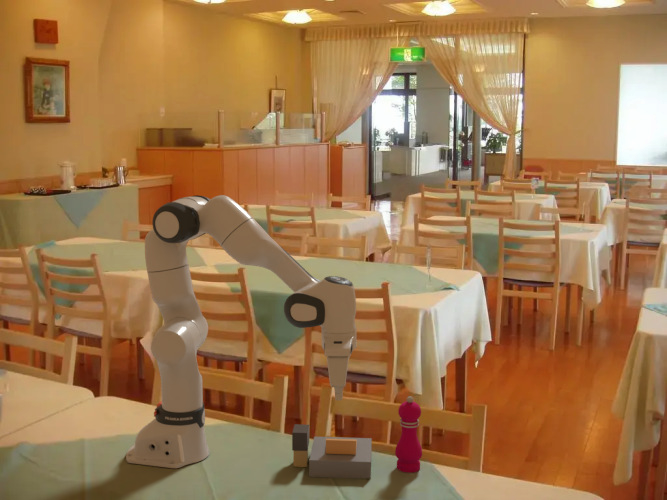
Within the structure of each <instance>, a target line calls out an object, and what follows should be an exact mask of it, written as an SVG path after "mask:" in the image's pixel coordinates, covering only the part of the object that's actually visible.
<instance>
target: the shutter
mask: <svg viewBox="0 0 667 500" xmlns="http://www.w3.org/2000/svg"><path fill="white" fill-rule="evenodd" d="M356 448H357V440H356V439H326V454H352V455H356Z"/></svg>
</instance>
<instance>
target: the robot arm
mask: <svg viewBox="0 0 667 500" xmlns="http://www.w3.org/2000/svg"><path fill="white" fill-rule="evenodd" d="M151 223H152V224H151V225H152V228H153V229H151V230H149V231H148V233H146V235H145V237H144V257H145V266H146V271H147V278H148V282H149V283H148V284H149V288H150V292H151V293H150V294H151V298H152V301H153V302H154V303H155V304H156V306H157V307H158V309H159V312H160V314H161V317H162V319H163V325H162V326H160V327H159V328H158V329H157V331H155V333H154V336H153V338H152V340H151V343H150V350H151V354H152V356H153V358H154V359H155V360H156V363H157V367H158V372H159V375H160V382H161V383H160V385H161V387H160V388H161V401H158V403H157V405H156V407H155V408H154V411H153V417H154V419H153V420H152V421H150V422H149V423H147V424H146V425H144V426H143V427H142V428H141V429H140V430H139V431H138V433H137V434H136V437H135V441H134V444H132V445H131V446H130V448H129V449H127V452H126V456H125V460H126V462H127V463H129V464H137V465H143V466H151V467H152V466H153V467H162V468H169V469H179V468H182V467H184V466H186V465H191V464H195V463H198V462H201V461H203V460H205V459H207V458H208V456H209V455H210V453H211V452H210V448H209V446H208V443H207V437H206V430H205V423H206V409H205V403H204V401H203V397H204V396H203V395H204V393H203V375H202V374H201V373H200V371H199V365H198V361H197V353H198V349H199V348H201V346H202V345H203V344H204V343H205V341H206V339H207V337H208V335H209V334H208V333H209V324H208V321H207V319H206V317H204V315H203V313H202V310H201V308H200V305H199V303H198V300H197V297H196V294H195V291H194V286H193V281H192V276H191V275H192V274H191V269H190V265H189V260H188V256H187V245H188V243H189V242H190V241H192V240H195V239H197V238H199V237H201V236H203V235H209V236H211V237H212V238H213V239H214V241H216V243H217V244H218V245H219V246H220V247H221V249H223V250H224V251H225V253H226V254H227V255H228V256H230V257H231V258H232V259H233V260H234V261H236V262H237V263H238V264H241V265H243V266H244V265H245V266H252V267H254V266H255V267H259V268H264V269H265V270H266V269H267V270H269V271H270V272H272V273H273V274H275V275H276V276H277V277H278V278H279V279H280V280H281V281H282V282H283V283H284V284H285V285H286V286H287V287H288V288H290V290H291V291H292V292H293V293H291V294H290V295H289V296H288V297H287V298H286V300H285V301H284V304H283V313H284V316H285V318H286V320H287V322H288V323H289V324H291V326H293V327H295V328H300V329H304V328H305V329H306V328H313V327H321V349H323V352H324V356H325V357H326V361H327V371H328V381H329V385H330V387H331V388H333V389H334V400H335V401H342V400H343V398H344V397H343V389H345V387H346V384H347V382H346V381H347V375H348V366H349V359H350V357H351V355H352V353H353V351H354V350H356V349H357V344H358V342H357V325H356V321H355V319H356V315H357V299H356V298H357V297H356V290H355V287H354V284H353V282H352V281H350V280H349V279H348V278H345V277H341V276H336V275H335V276H334V275H331V276H330V275H329V276H325V277H324V278H323V279H318V278H316V277H315V276H314V275H312V274H310V272H308V270H306V269H305V268H304V267H303V266H302V265H301V264H300V263H299V262H298V261H297V260H296V259H295V257H294V258H293V256H292V255H291V254H289V252H287V251H286V250H285V249H284V248H283V247H281V245H280V244H278V242H276V240H274V239H273V238H272V237H271V236H270V235H269V233H268V232H267V231H266V230H265V229H264V228H263V227H262V226H261V225H260V224H259V223H258V222H257V220H255V218H254V217H253V216H252V215H251V214H250V213H249V212H248V211H247V210H246V208H245V209H244V207H243V206H241V205H240V204H239V203H237V202H236V201H235V200H234V199H233V198H232V197H230V196H227V195H224V194H220V195H216V196H213V197H212V198H209V197H208V196H205V195H199V194H198V195H191V196H185V197H180V198H177V199H176V200H173V201H169V202H166V203H165V204H163V205H160V207H158V209H156V211H154V214H153V217H152V222H151Z"/></svg>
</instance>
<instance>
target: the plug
mask: <svg viewBox="0 0 667 500" xmlns="http://www.w3.org/2000/svg"><path fill="white" fill-rule="evenodd" d="M291 440H292V441H291V442H292V443H291V444H292V445H291V447H292V449H291V450H292V451H293V463H292V464H293V467H301V468H302V467H305V468H306V467H307V468H308V464H309V446H310V424H297V423H296V424H293V429H292V437H291Z"/></svg>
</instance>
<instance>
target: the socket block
mask: <svg viewBox="0 0 667 500" xmlns="http://www.w3.org/2000/svg"><path fill="white" fill-rule="evenodd" d="M326 439H356V440H357V448H356V455H352V454H326ZM372 441H373V439H372V437H370V438H369V437H343V436H342V437H341V436H340V437H338V436H314V437H313V442H312V446H311V450H310V456H309V458H308V464H309V465H308V467H309V469H308V471H309V472H308V475H309V476H308V477H310V478H337V479H341V478H342V479H360V478H369V479H368V480H371V477H372V447H373V445H372Z"/></svg>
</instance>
